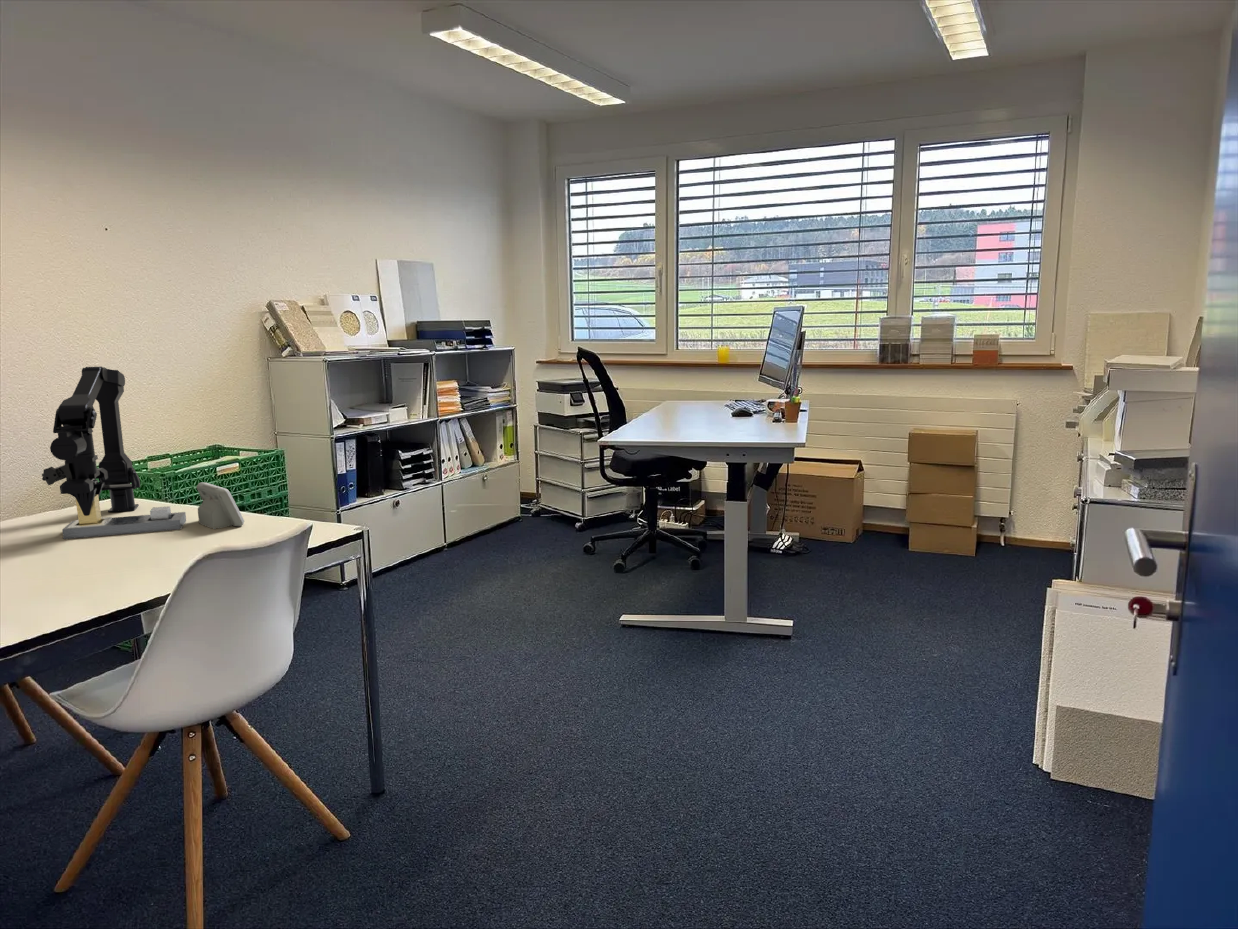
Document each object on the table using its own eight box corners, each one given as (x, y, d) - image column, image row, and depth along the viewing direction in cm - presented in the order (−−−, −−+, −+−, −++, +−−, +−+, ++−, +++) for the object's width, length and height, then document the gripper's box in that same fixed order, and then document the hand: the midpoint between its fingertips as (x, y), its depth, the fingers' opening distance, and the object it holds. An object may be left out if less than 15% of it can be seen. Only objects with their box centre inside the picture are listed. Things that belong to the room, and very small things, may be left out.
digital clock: (246, 527, 211) (242, 487, 209) (208, 533, 205) (204, 492, 203) (231, 515, 223) (227, 477, 221) (195, 520, 218) (191, 482, 216)
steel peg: (155, 526, 212) (153, 507, 211) (172, 524, 214) (170, 506, 213) (152, 529, 209) (149, 511, 208) (169, 528, 210) (167, 509, 209)
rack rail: (74, 530, 208) (72, 519, 208) (186, 520, 217) (185, 510, 216) (63, 539, 200) (62, 528, 199) (180, 529, 209) (179, 518, 208)
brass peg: (84, 525, 207) (80, 495, 205) (102, 524, 208) (98, 494, 207) (79, 529, 203) (75, 498, 202) (98, 528, 204) (94, 497, 203)
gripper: (55, 449, 208) (63, 508, 211) (30, 461, 191) (39, 525, 194) (104, 446, 212) (112, 504, 215) (85, 458, 194) (93, 521, 197)
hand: (89, 513), depth 205 cm, fingers closed on brass peg, 4 cm apart
